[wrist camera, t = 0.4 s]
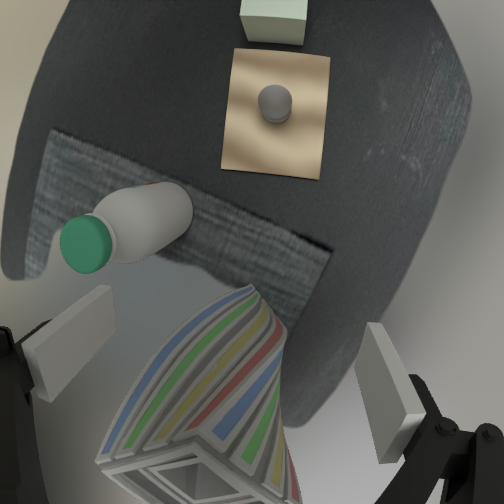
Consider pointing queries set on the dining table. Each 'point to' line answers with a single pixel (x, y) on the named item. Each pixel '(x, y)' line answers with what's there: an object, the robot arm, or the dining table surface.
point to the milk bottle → (126, 226)
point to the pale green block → (274, 20)
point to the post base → (276, 138)
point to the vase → (207, 413)
